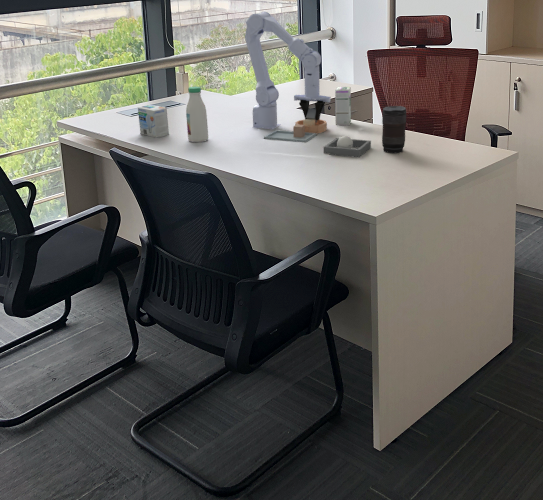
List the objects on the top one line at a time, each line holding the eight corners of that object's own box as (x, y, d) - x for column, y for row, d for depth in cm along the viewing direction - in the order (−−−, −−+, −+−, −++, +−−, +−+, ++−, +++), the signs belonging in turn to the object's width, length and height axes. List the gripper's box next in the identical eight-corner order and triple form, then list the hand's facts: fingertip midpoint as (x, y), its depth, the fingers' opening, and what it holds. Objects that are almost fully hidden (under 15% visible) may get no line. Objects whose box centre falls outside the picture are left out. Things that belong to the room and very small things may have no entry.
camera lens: (378, 148, 239) (380, 106, 233) (401, 147, 240) (403, 105, 234) (384, 154, 232) (385, 111, 226) (407, 153, 232) (409, 109, 226)
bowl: (290, 133, 263) (290, 124, 262) (302, 126, 273) (302, 118, 272) (319, 135, 258) (319, 127, 257) (330, 128, 268) (330, 120, 267)
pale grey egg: (342, 154, 234) (342, 138, 232) (333, 151, 238) (333, 135, 236) (361, 151, 237) (361, 135, 235) (351, 147, 242) (352, 132, 239)
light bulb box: (139, 134, 271) (136, 107, 267) (153, 130, 276) (150, 104, 271) (156, 137, 264) (153, 110, 260) (169, 134, 269) (167, 107, 264)
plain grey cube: (306, 117, 264) (308, 108, 265) (308, 121, 267) (311, 112, 268) (314, 118, 262) (317, 109, 263) (316, 122, 265) (319, 113, 266)
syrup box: (349, 125, 272) (350, 89, 266) (334, 125, 273) (335, 89, 267) (350, 122, 277) (351, 86, 271) (336, 122, 278) (336, 86, 272)
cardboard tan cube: (293, 137, 256) (293, 126, 255) (296, 134, 259) (296, 124, 258) (302, 137, 255) (302, 127, 253) (304, 135, 258) (304, 124, 256)
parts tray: (263, 139, 256) (263, 136, 255) (275, 133, 265) (275, 130, 264) (305, 143, 249) (305, 140, 248) (316, 136, 258) (316, 133, 258)
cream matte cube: (303, 130, 263) (303, 120, 262) (306, 128, 266) (306, 118, 265) (311, 131, 262) (311, 121, 260) (315, 129, 265) (314, 119, 263)
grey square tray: (323, 154, 235) (323, 146, 234) (336, 144, 246) (336, 137, 245) (359, 157, 230) (359, 150, 229) (370, 147, 240) (370, 140, 239)
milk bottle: (211, 138, 261) (208, 85, 253) (203, 143, 254) (199, 89, 246) (193, 137, 263) (189, 85, 255) (185, 142, 257) (180, 89, 249)
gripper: (290, 85, 259) (291, 120, 265) (326, 87, 254) (326, 123, 259) (297, 82, 265) (298, 116, 271) (332, 84, 259) (332, 119, 265)
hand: (312, 119), depth 265 cm, fingers open, 4 cm apart
